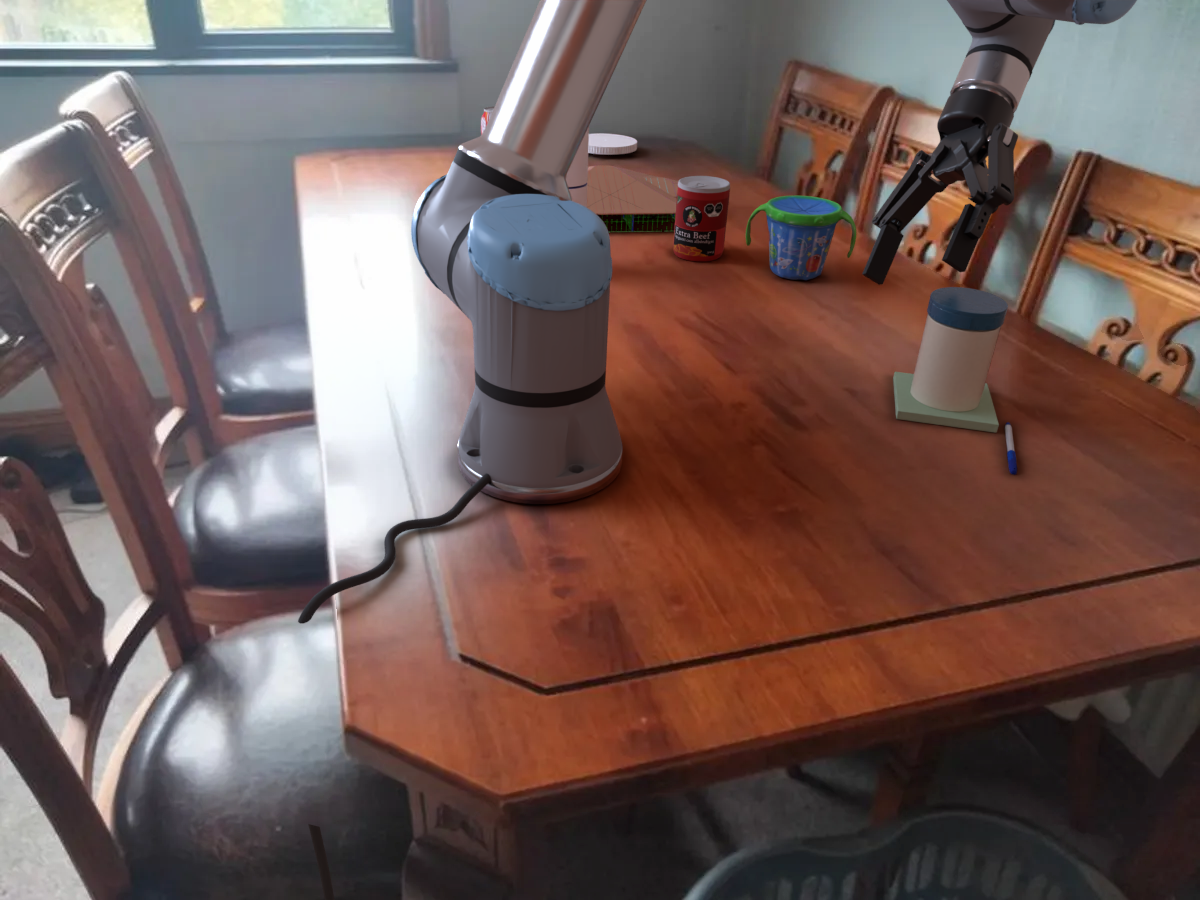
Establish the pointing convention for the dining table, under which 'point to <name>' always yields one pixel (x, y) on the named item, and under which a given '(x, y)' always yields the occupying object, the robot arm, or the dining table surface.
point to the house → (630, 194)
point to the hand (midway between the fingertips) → (910, 273)
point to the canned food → (701, 218)
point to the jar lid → (967, 308)
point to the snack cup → (800, 234)
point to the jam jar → (952, 366)
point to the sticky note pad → (918, 412)
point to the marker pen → (1010, 449)
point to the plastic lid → (611, 144)
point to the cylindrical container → (579, 173)
